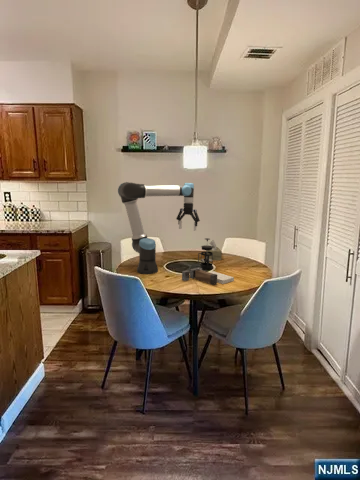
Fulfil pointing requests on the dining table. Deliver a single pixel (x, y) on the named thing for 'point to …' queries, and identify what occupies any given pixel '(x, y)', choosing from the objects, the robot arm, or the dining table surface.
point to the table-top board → (223, 278)
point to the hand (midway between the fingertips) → (187, 229)
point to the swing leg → (206, 277)
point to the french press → (206, 257)
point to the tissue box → (215, 251)
